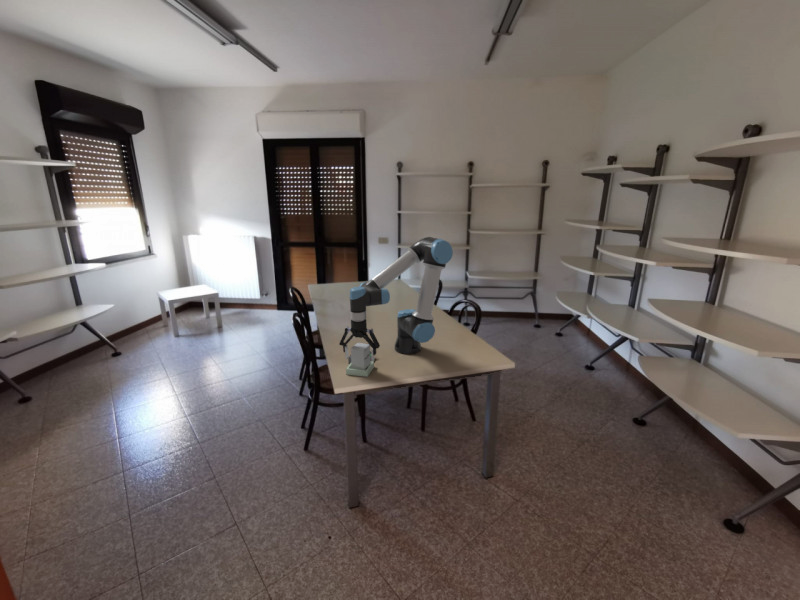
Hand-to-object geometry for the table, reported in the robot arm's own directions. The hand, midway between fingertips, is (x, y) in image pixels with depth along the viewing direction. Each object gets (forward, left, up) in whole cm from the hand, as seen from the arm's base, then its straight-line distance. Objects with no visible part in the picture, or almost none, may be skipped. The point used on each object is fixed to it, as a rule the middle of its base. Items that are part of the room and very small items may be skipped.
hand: (359, 359), depth 182 cm
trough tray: (0, 0, -6) cm, 6 cm away
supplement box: (0, 0, -6) cm, 6 cm away
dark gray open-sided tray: (+3, -11, -6) cm, 13 cm away
